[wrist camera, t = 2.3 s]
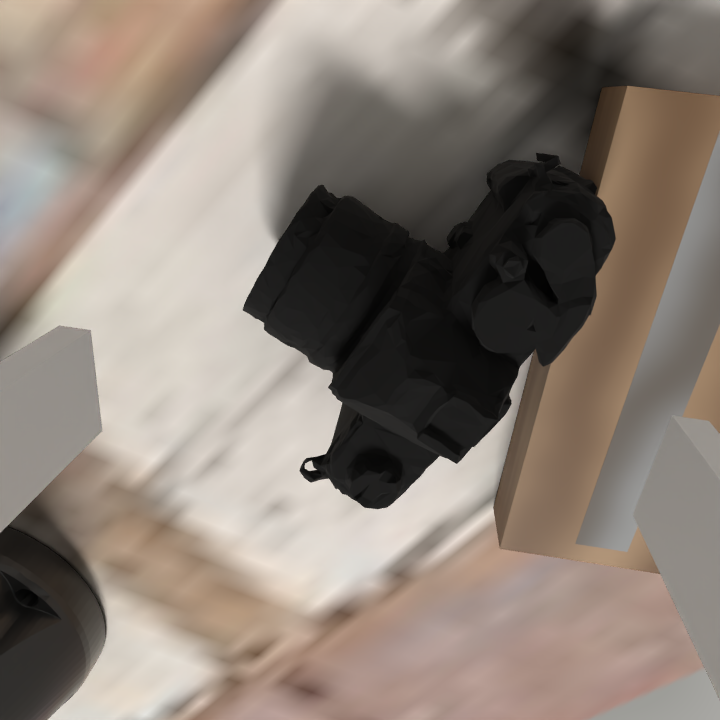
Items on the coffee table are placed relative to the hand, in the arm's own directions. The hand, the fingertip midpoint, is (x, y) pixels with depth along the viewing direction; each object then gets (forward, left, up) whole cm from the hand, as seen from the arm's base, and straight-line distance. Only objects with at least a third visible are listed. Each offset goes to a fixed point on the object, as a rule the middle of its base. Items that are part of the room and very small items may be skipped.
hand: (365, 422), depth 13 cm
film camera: (0, -1, -14) cm, 14 cm away
